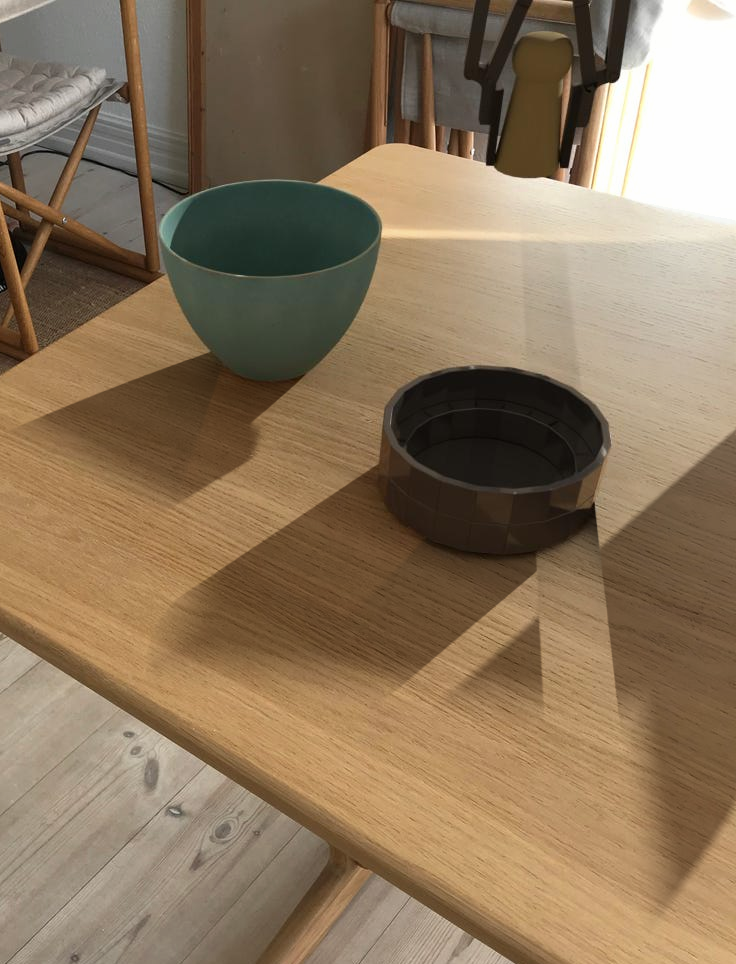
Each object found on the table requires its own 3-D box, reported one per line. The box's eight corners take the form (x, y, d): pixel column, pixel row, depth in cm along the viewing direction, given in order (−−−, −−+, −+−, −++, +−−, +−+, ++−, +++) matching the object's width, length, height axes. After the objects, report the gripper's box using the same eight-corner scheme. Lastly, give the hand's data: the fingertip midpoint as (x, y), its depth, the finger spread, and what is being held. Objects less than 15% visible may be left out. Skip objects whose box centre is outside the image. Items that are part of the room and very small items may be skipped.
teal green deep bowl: (293, 439, 84) (295, 298, 76) (127, 369, 92) (111, 234, 84) (410, 346, 94) (423, 212, 86) (251, 290, 102) (249, 162, 94)
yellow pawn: (545, 183, 94) (567, 49, 87) (482, 170, 97) (499, 39, 89) (568, 160, 98) (591, 29, 90) (507, 149, 100) (525, 20, 92)
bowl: (585, 438, 84) (602, 373, 80) (600, 570, 73) (620, 502, 69) (385, 423, 86) (390, 358, 82) (369, 549, 75) (375, 482, 71)
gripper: (448, -137, 79) (422, 173, 96) (708, -137, 77) (635, 181, 93) (451, -154, 84) (425, 143, 101) (694, -155, 82) (627, 149, 98)
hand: (526, 161), depth 97 cm, fingers closed on yellow pawn, 6 cm apart
